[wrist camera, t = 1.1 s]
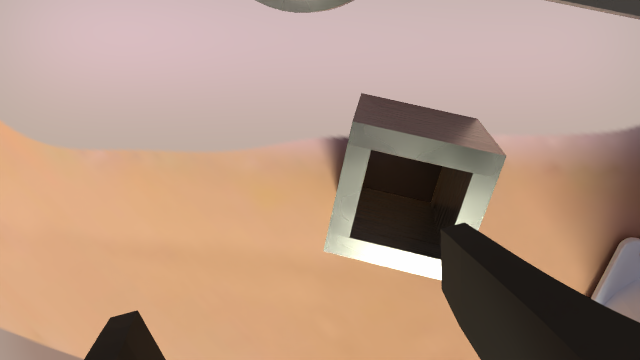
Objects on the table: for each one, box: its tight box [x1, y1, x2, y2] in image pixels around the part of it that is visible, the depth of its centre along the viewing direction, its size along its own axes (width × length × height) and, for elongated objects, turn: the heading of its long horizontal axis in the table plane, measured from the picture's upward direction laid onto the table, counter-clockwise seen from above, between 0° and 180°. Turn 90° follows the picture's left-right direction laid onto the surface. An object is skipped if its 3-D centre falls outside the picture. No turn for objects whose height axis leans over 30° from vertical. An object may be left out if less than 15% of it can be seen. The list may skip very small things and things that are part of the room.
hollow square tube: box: [324, 94, 506, 280], centre depth 18 cm, size 5×5×5 cm
